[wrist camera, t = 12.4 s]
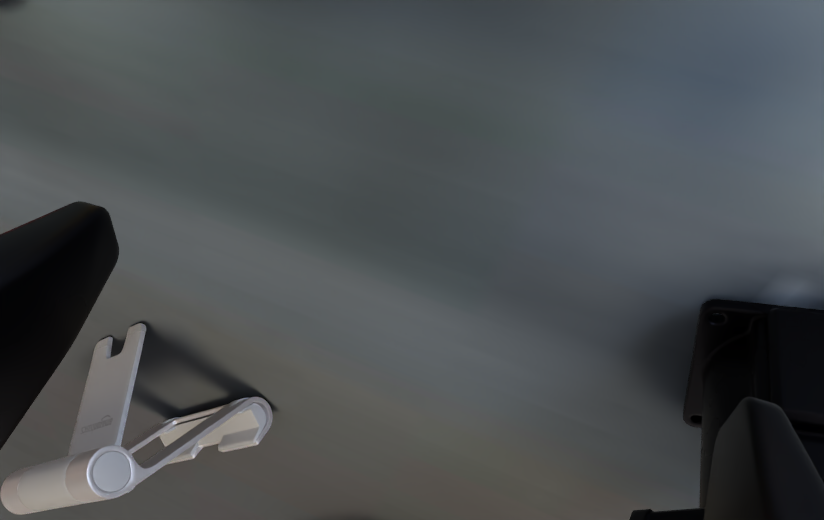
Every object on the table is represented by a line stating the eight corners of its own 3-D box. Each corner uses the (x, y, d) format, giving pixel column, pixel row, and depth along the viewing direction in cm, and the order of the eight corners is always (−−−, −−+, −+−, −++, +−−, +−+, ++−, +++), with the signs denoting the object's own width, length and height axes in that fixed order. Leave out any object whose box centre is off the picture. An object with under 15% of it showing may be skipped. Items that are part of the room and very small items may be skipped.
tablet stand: (185, 434, 42) (101, 571, 37) (79, 348, 39) (-31, 485, 34) (279, 410, 37) (198, 566, 32) (165, 310, 34) (53, 463, 28)
